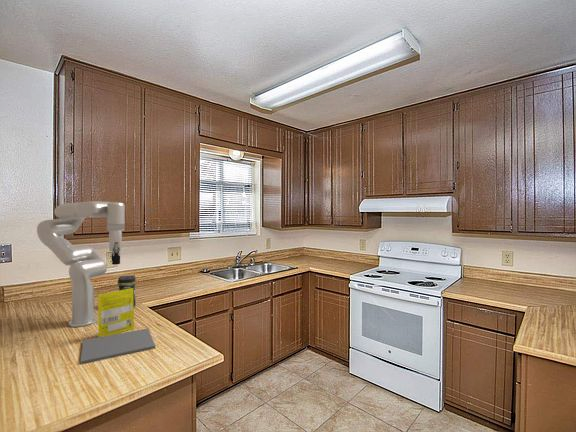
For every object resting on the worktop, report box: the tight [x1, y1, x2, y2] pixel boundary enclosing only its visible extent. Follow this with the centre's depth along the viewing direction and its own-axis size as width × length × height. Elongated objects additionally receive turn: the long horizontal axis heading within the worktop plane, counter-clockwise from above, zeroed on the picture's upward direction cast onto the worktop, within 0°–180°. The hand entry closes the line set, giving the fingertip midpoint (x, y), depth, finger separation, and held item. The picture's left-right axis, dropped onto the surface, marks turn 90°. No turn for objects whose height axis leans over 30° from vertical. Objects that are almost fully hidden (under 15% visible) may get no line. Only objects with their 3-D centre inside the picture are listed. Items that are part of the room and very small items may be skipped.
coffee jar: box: [117, 274, 137, 307], centre depth 183 cm, size 10×8×19 cm
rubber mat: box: [80, 328, 156, 365], centre depth 132 cm, size 22×26×1 cm
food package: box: [97, 288, 135, 337], centre depth 144 cm, size 15×1×20 cm, turn 141°
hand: (115, 262), depth 151 cm, fingers open, 9 cm apart
